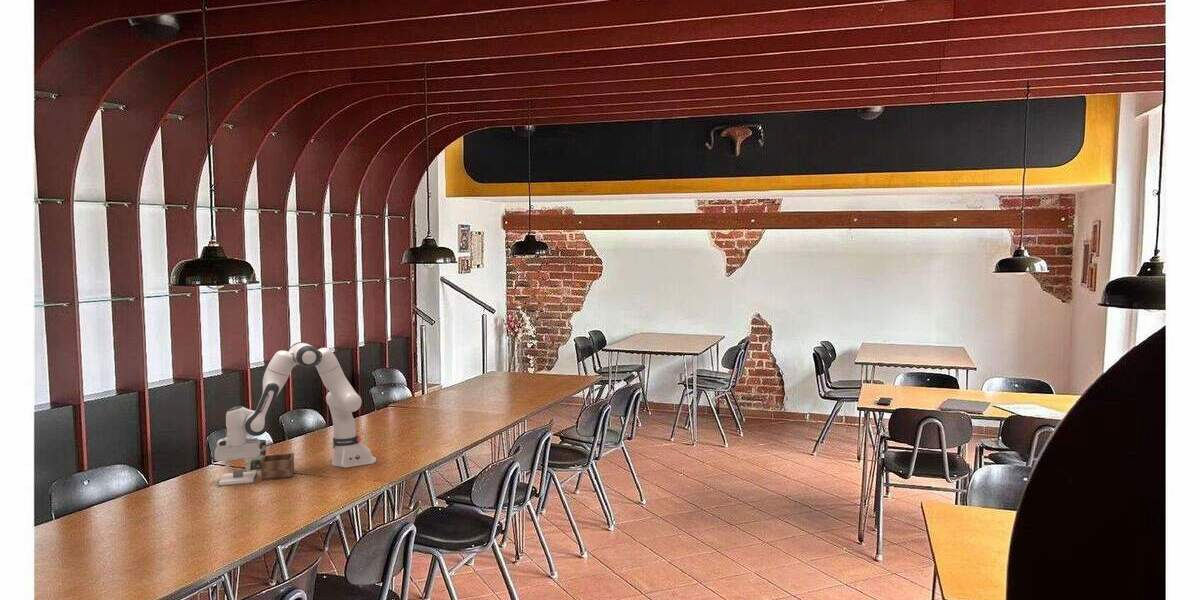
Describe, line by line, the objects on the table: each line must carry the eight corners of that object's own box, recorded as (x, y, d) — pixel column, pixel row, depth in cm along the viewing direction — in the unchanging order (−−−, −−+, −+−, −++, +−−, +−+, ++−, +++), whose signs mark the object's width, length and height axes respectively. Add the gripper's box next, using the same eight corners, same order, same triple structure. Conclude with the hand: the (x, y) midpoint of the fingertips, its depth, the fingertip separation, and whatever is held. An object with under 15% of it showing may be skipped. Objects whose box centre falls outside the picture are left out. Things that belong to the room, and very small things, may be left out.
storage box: (294, 470, 394) (293, 453, 394) (292, 477, 381) (291, 459, 380) (264, 473, 390) (263, 455, 389) (261, 480, 377) (260, 462, 376)
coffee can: (271, 466, 403) (270, 439, 402) (258, 471, 393) (257, 444, 392) (253, 465, 405) (252, 439, 404) (241, 470, 395) (239, 443, 394)
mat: (257, 474, 388) (257, 473, 388) (254, 483, 373) (254, 482, 373) (222, 477, 383) (222, 476, 383) (217, 486, 368) (217, 485, 368)
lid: (256, 473, 387) (256, 465, 387) (253, 482, 373) (252, 472, 373) (223, 476, 383) (223, 467, 383) (219, 485, 369) (218, 476, 368)
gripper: (260, 436, 383) (262, 463, 384) (215, 440, 377) (216, 468, 378) (259, 439, 377) (260, 467, 378) (213, 443, 371) (214, 471, 372)
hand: (238, 467), depth 378 cm, fingers open, 8 cm apart
